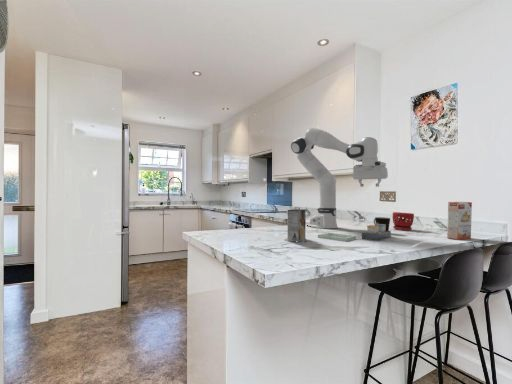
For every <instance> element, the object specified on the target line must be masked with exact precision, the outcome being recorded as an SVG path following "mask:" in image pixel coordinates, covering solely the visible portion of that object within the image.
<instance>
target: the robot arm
mask: <svg viewBox="0 0 512 384" xmlns="http://www.w3.org/2000/svg"><path fill="white" fill-rule="evenodd" d="M315 146H316V147H318V148H322V149H328V150H333V151H338V152H341V153H343V154H346V156H347V157H348V158H349V159H351V160H354V161H355V162H361V164H355V165H354V166H353V168H352V169H353V170H352V178H353V180H357V181H358V183H359V187H361V188H362V187H364V185H365V184H364V183H362V181H363V180H377V182H376V183H375V187H378V188H379V187H380V183H381V182H382V180H386V179H387V178H388V176H389V175H388V173H389V172H388V167H386V166H387V163H386V162H385V161H384V162H383V161H381V160H379V159H378V158H379V157H378V151H379V149H378V140H377V139H376V138H374V137H372V136H371V137H369V136H368V137H363V138H362V139H361V140H359V141H357V142H355V143H351V144H349V143H347V142H343V141H341V140H340V139H339V138H337V137H335V136H334V135H333V134H331V133H329V132H328V131H325V130H323V129H319V128H314V127H310V128H308V129H307V131H305V134H302V135H299V137H297V138H295V139H294V140H293V141H292V142H291V144H290V149H291V152H293V153H294V154H296V158H297V159H298V161H299V162H300V164H301V165H302V166H303V167H304V169H305V170H306V171H307V172H308V173H309V174H310V175H311V176H312V177H313V178H314V179H315V180H316V181H317V182H318V183H319V207H318V208H316V211H317V212H316V214H314V215H313V216H311V217H310V220H309V223H308V224H306V226H307V225H308V226H307V227H309V226H311V227H310V228H316V229H338V228H339V227H338V223H337V208H336V206H337V204H336V202H337V201H336V199H337V198H336V197H337V194H336V193H337V192H336V191H337V187H336V186H337V178H336V176H335V175H334V174H332V173H331V171H330V170H329V169H328V168H327V167H326V166H325V165H324V164H323V163H322V162H321V161H320V160H319V159H318V157H316V156H315V154H313V152H312V150H313V149H314V147H315Z"/></svg>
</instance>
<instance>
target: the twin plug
mask: <svg viewBox="0 0 512 384" xmlns="http://www.w3.org/2000/svg"><path fill="white" fill-rule="evenodd" d="M374 225H376V226H379V232H385V231H386V224H376V223H375V224H374Z"/></svg>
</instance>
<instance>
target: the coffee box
mask: <svg viewBox="0 0 512 384" xmlns="http://www.w3.org/2000/svg"><path fill="white" fill-rule="evenodd" d="M306 214H307V213H306V209H303V208H302V209H301V208H297V209H296V208H293V209H287V241H288V242H290V241H297V242H296V243H301V242H303V241H304V240H306V227H307V224H306V216H307V215H306ZM300 241H301V242H300Z"/></svg>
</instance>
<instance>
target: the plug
mask: <svg viewBox="0 0 512 384" xmlns="http://www.w3.org/2000/svg"><path fill="white" fill-rule="evenodd" d="M366 228H367V230H366V231H367V233H374V234H377V233H379V226H376V225H375V224H373V225H372V224H370V225H367V226H366Z"/></svg>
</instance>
